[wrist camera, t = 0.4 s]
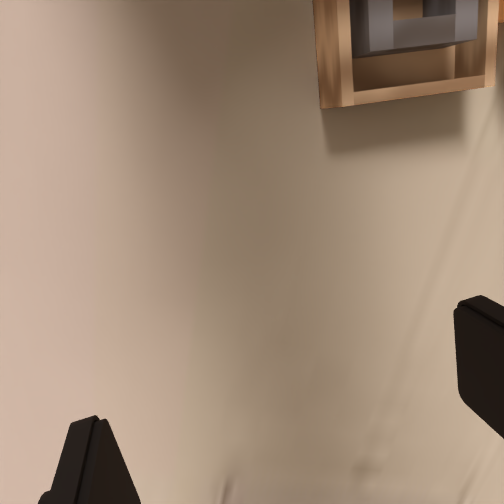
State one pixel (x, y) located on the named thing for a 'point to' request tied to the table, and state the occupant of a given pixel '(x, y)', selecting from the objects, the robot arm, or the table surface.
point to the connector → (501, 12)
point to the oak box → (403, 48)
